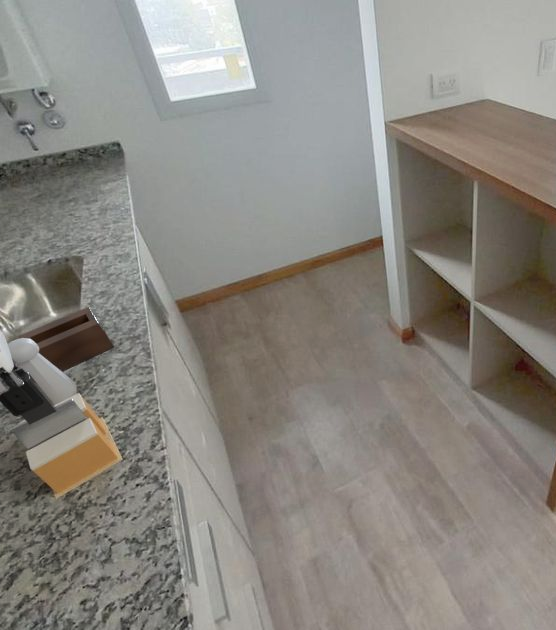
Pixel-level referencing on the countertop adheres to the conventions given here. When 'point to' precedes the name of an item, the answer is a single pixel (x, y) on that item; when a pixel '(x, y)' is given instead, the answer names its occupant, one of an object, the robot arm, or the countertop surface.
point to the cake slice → (71, 455)
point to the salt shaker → (42, 370)
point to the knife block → (70, 339)
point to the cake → (102, 427)
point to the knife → (46, 419)
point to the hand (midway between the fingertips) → (27, 402)
